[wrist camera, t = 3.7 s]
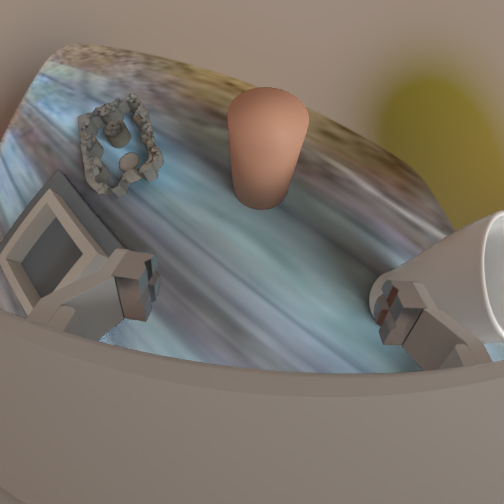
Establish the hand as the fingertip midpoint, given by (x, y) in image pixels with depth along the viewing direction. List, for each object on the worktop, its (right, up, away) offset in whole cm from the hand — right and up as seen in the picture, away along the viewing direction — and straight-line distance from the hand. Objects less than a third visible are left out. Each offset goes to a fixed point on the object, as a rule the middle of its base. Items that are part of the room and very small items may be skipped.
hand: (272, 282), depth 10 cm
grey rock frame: (-14, +11, +17) cm, 25 cm away
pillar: (0, +7, +16) cm, 18 cm away
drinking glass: (+12, -3, +14) cm, 19 cm away
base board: (-19, 0, +14) cm, 24 cm away
